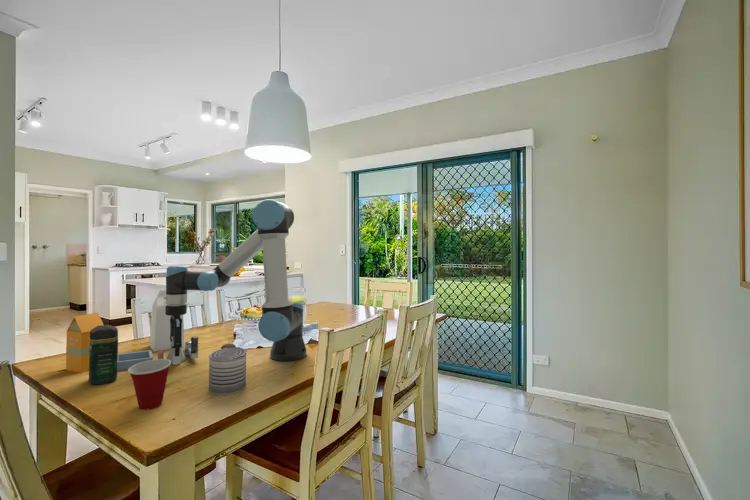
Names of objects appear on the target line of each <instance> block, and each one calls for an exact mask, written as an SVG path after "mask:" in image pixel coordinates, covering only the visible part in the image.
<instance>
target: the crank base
mask: <svg viewBox="0 0 750 500" xmlns="http://www.w3.org/2000/svg"><path fill="white" fill-rule="evenodd" d="M182 350H183V349H182ZM183 353H184V355H185V357H190V355H189V354H188V352H187V351H185V349H184V350H183Z"/></svg>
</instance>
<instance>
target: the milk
mask: <svg viewBox="0 0 750 500" xmlns="http://www.w3.org/2000/svg"><path fill="white" fill-rule="evenodd" d="M164 297H167V296H166V289H160V290H159V291H158V294H157V295H156V298H155V299H154V301H153V303H152V309H151V322H150V323H151V324H150V336H149V347H150V349H152V350H151V351H152V352H160V351H166V350H170V342H172V341H170V319H171V318H170V317H171V316H168V315H166V314H165V307H166V305H167V304H166V299H164ZM180 318H181V319H182V347H181V348H185V334H184V333H185V330H184V329H185V328H184V315H180Z"/></svg>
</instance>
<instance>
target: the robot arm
mask: <svg viewBox="0 0 750 500" xmlns="http://www.w3.org/2000/svg"><path fill="white" fill-rule="evenodd" d="M252 221H253V223H254V225H255V226H256V227H257V228H256V230H255V231H253V232H252V234H251V235H249V236H248V237H247V238H246V239H245V240H244V241H243V242H241V243H240V244H239V245H238V246H237V247H236V248H235V249H234V250H233V251H231V253H229V254H228V255H227V256H226V257H225V258H224V259H223V260H222V261H220V263H219V264H217V266H215V267H213V269H212V270H202V271H189V269H188V267H187V266H186V265H169V266H168V267H166V274H165V290H166V296H167V297H164V299H166V304H167V305H166V307H165V314H166V315H168V316H171V317H170V318H171V319H170V341H172V339H171V337H172V336H173V343H174V346H172V347H171V344H172V342H170V348H173V363H172V366H173V365H174V366H175V365H176V366H177V365H180V364H181V363H182V362H181V348H183V347H182V319H181V318H180V315H183V316H184V315H187V312H188V311H187V309H188V306H187V303H188V291H200V292H202V291H203V292H210V291H211V292H212V291H214V290H216V289H217V288H221V287H224V286H226V285H228V284H229V283H230V281H231V278H232V277H233V276H235V275H236V273H237V272H239V271H240V270H241V269H242V268H243V267H244V266H245V265H247V264H248V262H250V261H251V260H252V259H254V257H256V255H258V254H259V252H261V251H262V256H263V257H262V259H263V262H262V263H263V278H264V279H263V280H264V296H265V297H264V298H265V301H264V302H263V304H262V305H261V317H260V318H259V321H258V323H257V324H258V328H257V329H258V331H259V333H260V335H261V336H262V337H263V338H264V339H265V340H267V341H270V342H272V345H271V348H270V351H269V357H270V358H271V360H275V361H281V362H282V361H283V362H284V361H288V362H289V361H297V360H301V359H304V358H305V357H307V351H308V350H307V346H306V344H305V341H304V337H303V335H304V333H303V332H304V331H303V329H304V304H303V303H302V302H299V301H298V302H297V301H291V300H289V289H288V270H287V269H288V268H287V251H286V248H287V247H286V239H287V237H288V236H289V233H290V232H289V231H290V230H289V229H290V228H291V227H292V225H293V224H294V221H295V214H294V211H293V209H292V208H291V206H289V205H288V204H286V203H285V202H284V203H283V202H280V201H279V200H276V199H268V198H267V199H264V200H261V201H260V202H258V203H257V204H256V205H255V206H254V208H253V210H252Z"/></svg>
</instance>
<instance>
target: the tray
mask: <svg viewBox="0 0 750 500" xmlns="http://www.w3.org/2000/svg"><path fill="white" fill-rule="evenodd" d="M148 360H154V355H153V350H151V349H149V350H140V351H133V352H126V353H125V352H123V353H118V362H117V372H118V371H127V370H128V369H129V368H130V367H131V366H133V365H135V364H138V363H140V362H144V361H148Z"/></svg>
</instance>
